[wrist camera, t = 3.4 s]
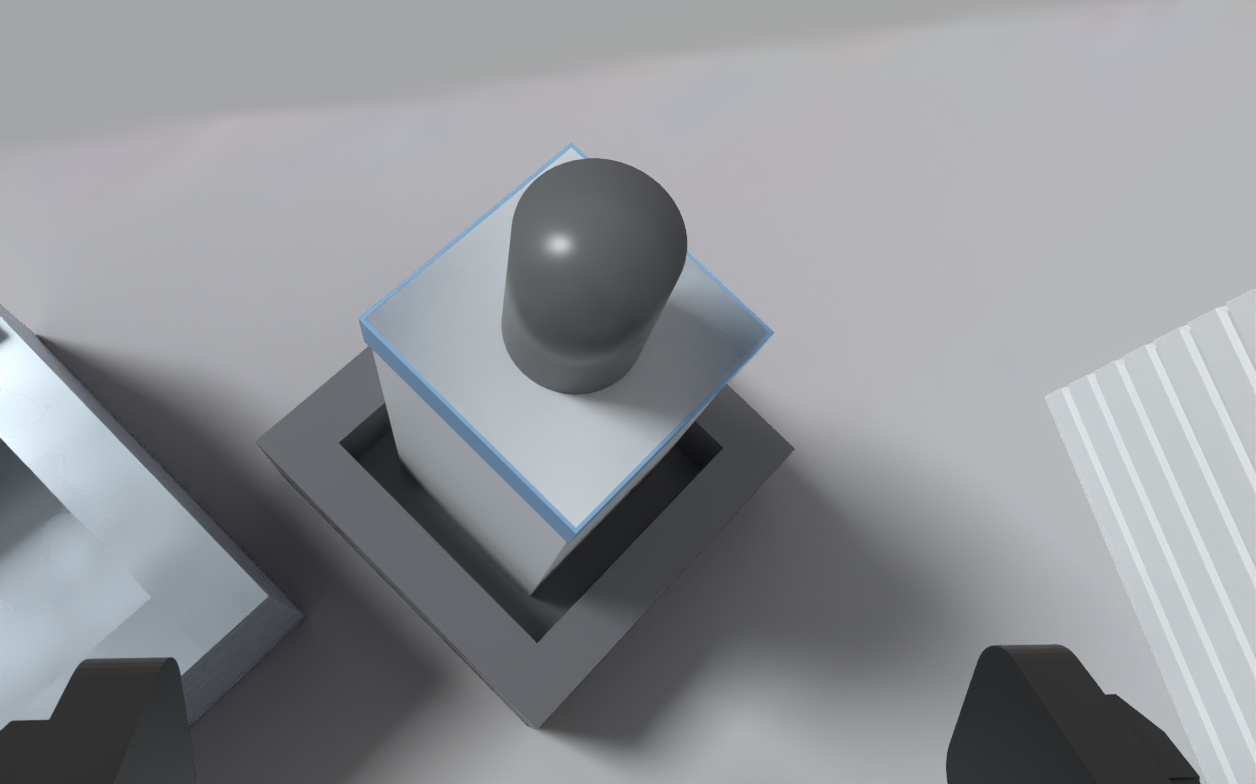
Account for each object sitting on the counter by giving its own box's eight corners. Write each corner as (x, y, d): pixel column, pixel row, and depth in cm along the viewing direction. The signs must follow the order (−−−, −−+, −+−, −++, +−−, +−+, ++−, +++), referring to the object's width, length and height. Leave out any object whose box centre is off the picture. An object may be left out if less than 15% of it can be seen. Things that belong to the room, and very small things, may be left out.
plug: (529, 599, 19) (605, 490, 9) (397, 467, 19) (333, 223, 9) (657, 469, 20) (845, 248, 10) (530, 346, 21) (595, 20, 11)
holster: (527, 725, 19) (537, 729, 17) (279, 473, 20) (255, 441, 17) (757, 476, 21) (794, 448, 19) (528, 257, 22) (537, 204, 19)
